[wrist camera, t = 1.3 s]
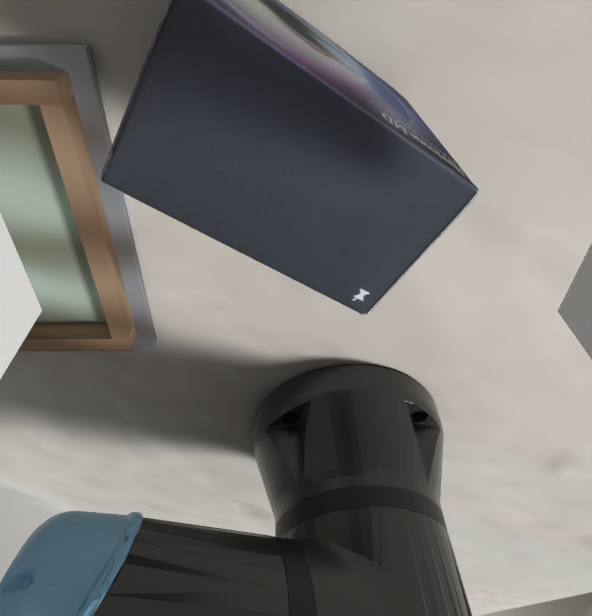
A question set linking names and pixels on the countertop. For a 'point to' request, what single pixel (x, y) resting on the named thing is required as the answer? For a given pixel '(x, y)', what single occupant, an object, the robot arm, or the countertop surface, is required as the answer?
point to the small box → (284, 150)
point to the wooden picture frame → (67, 203)
